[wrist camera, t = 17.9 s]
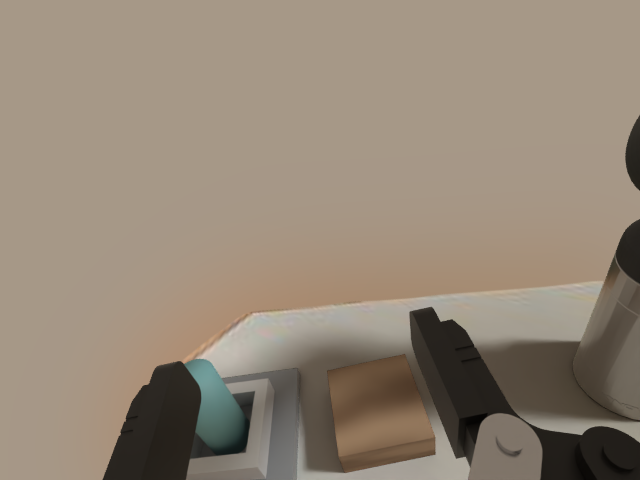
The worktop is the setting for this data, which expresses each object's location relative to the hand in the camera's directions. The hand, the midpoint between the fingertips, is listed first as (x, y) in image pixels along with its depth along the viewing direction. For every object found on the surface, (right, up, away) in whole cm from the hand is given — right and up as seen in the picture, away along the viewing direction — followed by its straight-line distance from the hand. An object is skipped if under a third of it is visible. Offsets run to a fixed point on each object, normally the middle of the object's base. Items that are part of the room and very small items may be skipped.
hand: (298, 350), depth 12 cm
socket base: (-10, -21, +30) cm, 38 cm away
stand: (+8, -18, +29) cm, 35 cm away
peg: (-10, -20, +29) cm, 37 cm away
